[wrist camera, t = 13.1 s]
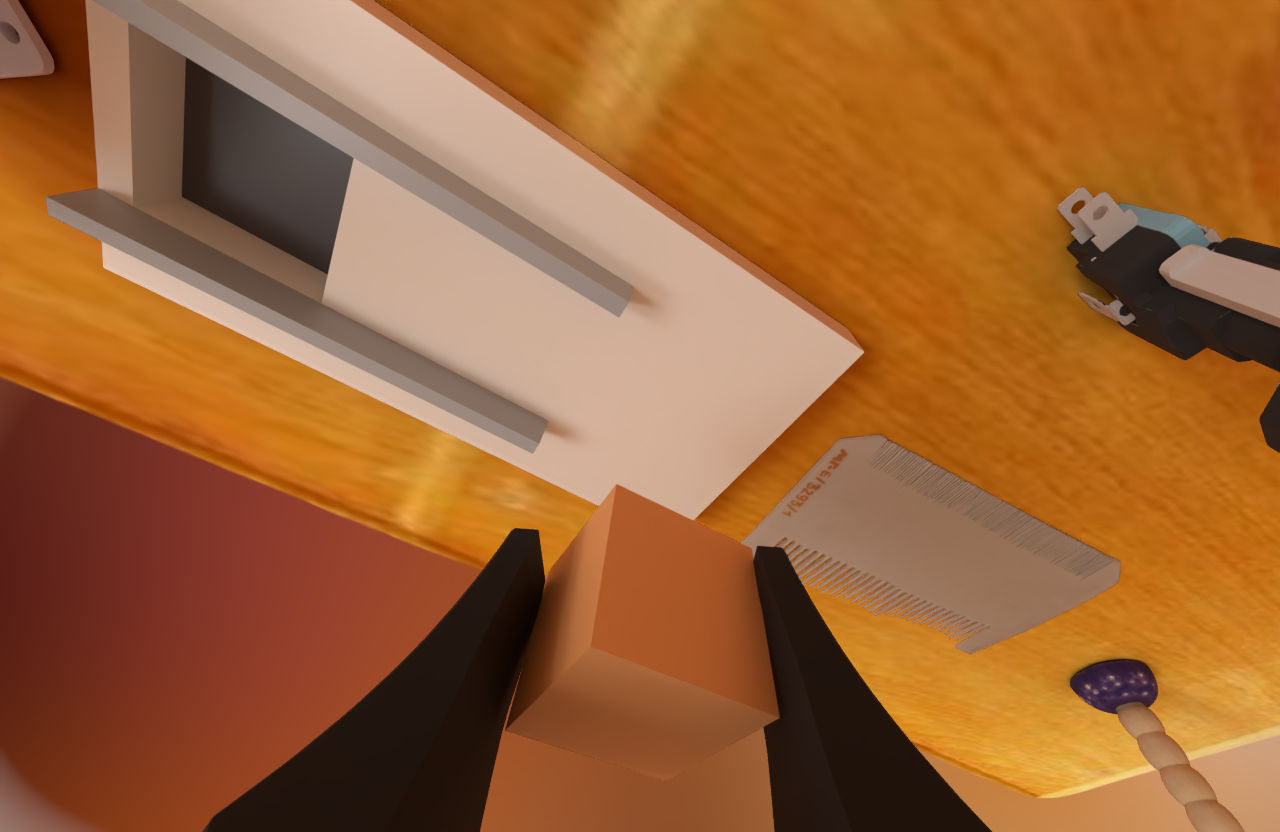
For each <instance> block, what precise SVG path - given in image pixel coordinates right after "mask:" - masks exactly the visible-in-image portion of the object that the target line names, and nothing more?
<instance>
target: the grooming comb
mask: <svg viewBox="0 0 1280 832" xmlns="http://www.w3.org/2000/svg"><path fill="white" fill-rule="evenodd" d="M785 537H786V539H785V540H784V541H783V542H782V543H780V544H779V545H778V546H777V547H782V548H784V547H786V546H787V545H788V544H789V543H790V542H791V541H793V542H792V543H791V544H790V545H789V546H788V547H787V548H786V549H785V552H786V554H788V553H790V552H791V551H792V550H793V549H795V548H796V547H797V546H798V545H800V547H799V548H797V549H796V550H795V551H794V552H792V553H791V554H790V555H789V556H788V558H789V560H790V561H791V560H792V559H793V558H795V557H796V556H797V555H799V554H800V553H801V552H802V551H804V550H805V549H806V548H807V550H806V551H805V552H804V553H802V554H801V555H800V556H799V557H798V558H797V559H795V560H794V561H793V562H792V563H791V564H792V566H793V567H795V566H796V565H797V564H799V563H800V562H801V561H803V560H804V559H805V558H806V557H808V556H809V555H810V554H812V553H813V552H814V551H816V552H815V553H814V554H813V555H812V556H810V557H809V558H808V559H807V560H805V561H804V562H803V563H802V564H801V565H800V566H799V567H797V568H796V569H795V571H796V573H797V574H798V573H799V572H800V571H802V570H803V569H804V568H806V567H807V566H808V565H810V564H811V563H812V562H813V561H815V560H816V559H817V558H818V557H820V556H821V555H822V554H823V556H822V557H821V558H820V559H819V560H818V561H816V562H815V563H813V564H812V565H811V566H810V567H809V568H808V569H806V570H805V571H804V572H803V573H802V574H800V575H799V576H798V577H799V579H801V578H802V577H803V576H805V575H806V574H808V573H809V572H811V571H812V570H814V569H815V568H817V567H818V566H819V565H821V564H822V563H823V562H825V561H826V560H828V559H829V558H831V559H830V560H828V561H827V562H826V563H825V564H824V565H822V566H821V567H820V568H819V569H817V570H816V571H815V572H814V573H812V574H811V575H810V576H809V577H807V578H806V579H805V580H804V581H803V582H802V584H805V583H806V582H808V581H809V580H811V579H812V578H814V577H815V576H817V575H818V574H820V573H821V572H823V571H824V570H826V569H827V568H828V567H830V566H831V565H833V564H835V563H836V562H837V563H836V564H835V565H834V566H832V567H831V568H830V569H829V570H827V571H826V572H825V573H824V574H822V575H821V576H820V577H819V578H817V579H816V580H815V581H814V582H812V583H811V584H810V585H809V587H812V586H813V585H815V584H816V583H818V582H819V581H821V580H823V579H824V578H826V577H827V576H829V575H830V574H832V573H833V572H834V571H836V570H837V569H838V568H840V567H841V566H843V565H844V564H846V565H845V566H844V567H842V568H841V569H840V570H839V571H837V572H836V573H835V574H833V575H832V576H831V577H829V578H828V579H827V580H826V581H824V582H823V583H822V584H820V585H819V586H818V587H817V588H816V590H817V589H819V588H821V587H823V586H824V585H826V584H828V583H829V582H831V581H832V580H834V579H835V578H837V577H838V576H840V575H841V574H843V573H844V572H846V571H847V570H848V569H850V568H852V569H851V570H850V571H849V572H847V573H846V574H845V575H843V576H842V577H841V578H839V579H838V580H837V581H835V582H834V583H832V584H831V585H830V586H828V587H827V588H826V589H824V590H823V591H822V592H821V593H824V592H826V591H827V590H829V589H831V588H832V587H834V586H835V585H837V584H838V583H840V582H841V581H843V580H844V579H846V578H847V577H849V576H850V575H852V574H853V573H855V572H857V571H858V572H857V573H856V574H855V575H853V576H852V577H851V578H849V579H848V580H847V581H845V582H844V583H843V584H841V585H840V586H839V587H837V588H836V589H835V590H833V591H832V592H831V593H830V595H832V594H833V593H835V592H837V591H838V590H840V589H842V588H843V587H845V586H847V585H848V584H850V583H852V582H853V581H855V580H856V579H858V578H859V577H861V576H862V575H864V574H865V573H867V574H866V575H864V576H863V577H862V578H860V579H859V580H858V581H856V582H855V583H854V584H852V585H851V586H850V587H848V588H847V589H846V590H844V591H843V592H841V593H840V594H839V595H837V597H836V598H838V597H839V596H841V595H843V594H845V593H846V592H848V591H850V590H851V589H853V588H855V587H856V586H858V585H859V584H861V583H862V582H864V581H865V580H867V579H868V578H870V577H872V576H873V577H872V578H871V579H870V580H868V581H867V582H865V583H864V584H862V585H861V586H860V587H858V588H857V589H855V590H854V591H852V592H851V593H850V594H848V595H847V596H846V597H844V599H848V598H849V597H851V596H853V595H855V594H856V593H858V592H860V591H861V590H863V589H865V588H866V587H868V586H870V585H871V584H873V583H874V582H876V581H877V580H879V581H877V582H876V583H875V584H873V585H872V586H871V587H869V588H868V589H866V590H865V591H864V592H862V593H861V594H860V595H858V596H857V597H856V598H854V599H853V600H852V601H851V603H853V602H855V601H857V600H858V599H860V598H862V597H863V596H865V595H867V594H868V593H870V592H872V591H873V590H875V589H877V588H878V587H880V586H881V585H883V584H884V583H886V582H887V583H886V584H885V585H883V586H882V587H880V588H879V589H878V590H876V591H875V592H873V593H872V594H870V595H869V596H868V597H866V598H865V599H863V600H862V601H861V602H859V603H858V605H860V604H861V603H863V602H865V601H867V600H869V599H870V598H872V597H874V596H875V595H877V594H879V593H880V592H882V591H884V590H885V589H887V588H888V587H890V586H891V587H890V588H889V589H887V590H886V591H885V592H883V593H882V594H880V595H879V596H878V597H876V598H875V599H873V600H872V601H870V602H869V603H868V604H866V605H865V606H864V607H863V608H867V607H869V606H871V605H872V604H874V603H876V602H877V601H879V600H881V599H882V598H884V597H886V596H887V595H889V594H891V593H892V592H894V591H895V590H897V589H898V590H897V591H896V592H894V593H893V594H891V595H890V596H888V597H887V598H886V599H884V600H883V601H881V602H880V603H878V604H877V605H875V606H874V607H873V608H871V609H870V610H869V611H867V612H869V613H870V612H872V611H874V610H876V609H878V608H879V607H881V606H882V605H884V604H886V603H887V602H889V601H891V600H892V599H894V598H896V597H897V596H899V595H900V594H902V593H903V592H905V593H904V594H902V595H901V596H899V597H897V598H896V599H895V600H893V601H892V602H891V603H889V604H887V605H886V606H885V607H883V608H882V609H881V610H879V611H878V612H877V613H875V614H874V615H875V616H877V615H878V614H880V613H882V612H884V611H885V610H887V609H889V608H890V607H892V606H894V605H895V604H897V603H898V602H900V601H901V600H903V599H905V598H906V597H908V596H910V595H911V596H910V597H908V598H907V599H905V600H904V601H902V602H901V603H899V604H898V605H896V606H895V607H893V608H892V609H890V610H889V611H887V612H886V613H885V614H888V613H890V612H892V611H894V610H896V609H898V608H900V607H902V606H903V605H905V604H907V603H909V602H910V601H912V600H914V599H916V598H918V599H916V600H914V601H913V602H911V603H910V604H908V605H907V606H905V607H904V608H902V609H901V610H899V611H898V612H896V613H895V614H893V615H892V616H891V617H893V616H896V615H897V614H899V613H901V612H903V611H905V610H907V609H909V608H911V607H913V606H915V605H917V604H919V603H920V602H922V601H923V602H922V603H920V604H919V605H917V606H915V607H914V608H912V609H911V610H910V611H908V612H906V613H905V614H903V615H902V616H900V617H899V618H903V617H905V616H907V615H909V614H911V613H913V612H915V611H917V610H919V609H920V608H922V607H924V606H926V605H927V606H926V607H924V608H923V609H921V610H920V611H918V612H916V613H915V614H913V615H912V616H910V617H909V618H907V619H906V620H907V621H908V620H910V619H912V618H914V617H916V616H918V615H920V614H922V613H924V612H926V611H928V610H930V609H932V608H933V609H932V610H930V611H929V612H927V613H925V614H924V615H922V616H921V617H919V618H917V619H916V620H914V621H913V623H915V622H917V621H919V620H921V619H923V618H925V617H927V616H930V615H931V614H933V613H935V612H937V611H939V610H940V611H939V612H937V613H936V614H934V615H932V616H931V617H929V618H928V619H926V620H925V621H923V622H921V623H920V625H921V624H924V623H926V622H928V621H930V620H933V619H935V618H937V617H939V616H941V615H943V614H945V613H946V614H945V615H943V616H941V617H940V618H938V619H937V620H935V621H933V622H932V623H930V624H929V625H927V627H929V626H932V625H934V624H936V623H938V622H940V621H942V620H944V619H946V618H949V617H950V618H949V619H947V620H945V621H943V622H942V623H940V624H939V625H937V626H935V627H934V628H933V629H936V628H938V627H940V626H942V625H945V624H947V623H949V622H951V621H953V620H955V621H953V622H952V623H950V624H948V625H947V626H945V627H944V628H942V629H940V630H939V632H941V631H943V630H945V629H947V628H950V627H952V626H954V625H956V624H959V623H961V622H963V621H965V620H967V621H965V622H963V623H961V624H960V625H958V626H956V627H954V628H953V629H951V630H950V631H948V632H946V633H945V635H947V634H950V633H952V632H954V631H956V630H958V629H961V628H963V627H965V626H967V625H969V624H971V623H972V624H971V625H969V626H967V627H965V628H963V629H962V630H960V631H958V632H956V633H955V634H953V635H952V636H950V637H949V639H951V638H953V637H955V636H957V635H960V634H962V633H964V632H966V631H969V630H971V629H973V628H974V629H973V630H971V631H969V632H967V633H966V634H964V635H962V636H960V637H959V638H958V639H957V640H959V639H961V638H963V637H965V636H968V635H970V634H972V633H974V632H976V631H979V630H981V629H983V628H985V627H986V628H985V629H983V630H981V631H979V632H978V633H976V634H974V635H972V636H970V637H968V638H967V639H965V640H963V641H962V642H960V643H958V644H957V645H955V647H956V649H959V650H961V651H964V652H966V653H969V654H973V653H975V652H976V651H979V650H982V649H984V648H986V647H988V646H991V645H993V644H996V643H998V642H1000V641H1003V640H1005V639H1008V638H1010V637H1013V636H1015V635H1018V634H1020V633H1023V632H1025V631H1027V630H1029V629H1032V628H1034V627H1036V626H1038V625H1040V624H1042V623H1044V622H1046V621H1048V620H1050V619H1052V618H1054V617H1056V616H1058V615H1060V614H1062V613H1064V612H1066V611H1068V610H1070V609H1072V608H1074V607H1076V606H1078V605H1080V604H1082V603H1084V602H1086V601H1088V600H1090V599H1092V598H1093V597H1095V596H1097V595H1099V594H1101V593H1102V592H1104V591H1106V590H1108V589H1109V588H1111V587H1112V586H1114V585H1115V584H1116V583H1118V581H1119V577H1120V564H1121V563H1120V561H1119V560H1117V559H1115V558H1111V557H1110V556H1108V555H1106V554H1104V553H1101V551H1100V552H1099V550H1097V549H1095V548H1093V547H1091V546H1089V545H1087V544H1085V543H1083V542H1081V541H1078V539H1075V538H1074V537H1073V538H1072V536H1069V535H1067V534H1066V533H1065V534H1064V532H1061V531H1059V530H1056V529H1055V528H1053V527H1051V526H1050V525H1047V523H1046V524H1045V523H1044V522H1042V521H1040V520H1038V519H1037V518H1034V517H1033V516H1030V515H1029V514H1026V513H1025V512H1024V511H1022V510H1021V511H1020V509H1017V508H1016V507H1014V506H1012V505H1010V504H1008V503H1007V502H1006V501H1005V502H1004V501H1002V500H1000V499H999V498H998V497H995V496H994V495H992V494H990V493H987V492H986V491H984V490H982V489H981V488H978V487H977V486H975V485H972V484H971V483H969V482H967V481H964V480H962V478H959V477H958V476H957V475H954V474H952V473H950V472H948V471H945V469H942V468H941V467H939V466H937V465H934V464H932V462H929V461H927V460H926V459H925V458H922V457H920V456H918V455H916V454H915V453H913V452H910V451H909V450H906V449H904V448H903V447H901V446H899V445H897V444H896V443H893V442H891V440H890V441H888V440H887V438H886V437H884V436H882V435H870V436H861V437H851V438H842V439H839V440H837V441H836V442H835V443H834V445H833V446H832V447H831V448H830V449H829V450H828V451H827V452H826V453H825V454H824V455H823V456H822V457H821V458H820V459H819V460H818V461H817V462H816V464H815V465H814V466H813V467H812V468H811V469H810V470H809V471H808V472H807V473H806V474H805V475H804V476H803V477H802V479H801V480H800V481H799V482H798V483H797V484H796V485H795V486H794V487H793V488H792V489H791V490H790V491H789V493H788V494H787V495H786V496H785V497H784V498H783V499H782V500H781V501H780V502H779V503H778V504H777V506H776V507H775V508H774V509H773V510H772V511H771V512H770V513H769V514H768V515H767V516H766V517H765V518H764V519H763V520H762V521H761V522H760V524H759V525H758V526H757V527H756V528H755V529H754V530H753V531H752V532H751V533H750V534H749V535H748V536H747V537H746V538H745V539H744V540H743V541H742V542H741V544H743V545H746V546H748V547H750V548H752V552H753V558H754V556H755V552H756V548H757V546H769V547H774V546H775V545H776V544H777V543H779V542H780V541H781V540H782V539H783V538H785ZM838 561H839V562H838ZM892 585H893V586H892ZM928 604H929V605H928ZM858 605H857V606H858ZM934 607H935V608H934ZM947 612H948V613H947ZM955 614H956V615H955ZM953 615H954V616H953ZM951 616H952V617H951ZM956 619H957V620H956ZM973 622H974V623H973ZM987 626H988V627H987ZM957 640H956V641H957Z"/></svg>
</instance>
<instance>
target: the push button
mask: <svg viewBox="0 0 1280 832" xmlns="http://www.w3.org/2000/svg"><path fill="white" fill-rule="evenodd" d="M1080 200H1083V201H1084V202H1085V206H1084V207H1083V208H1082V209H1081V210H1079V211H1078V213H1076V214H1073V213H1072V212H1071V209H1072V206H1073V205H1074V204H1075V203H1076V202H1078V201H1080ZM1101 206H1102V207H1101ZM1057 210H1058V211H1059V212H1060V213H1061V214H1062V215H1063V217H1064V218H1065V219H1066V220H1067V221H1068V222H1069V223H1070V224H1071V225H1072V226H1073V227H1074V228H1075V229H1074V230H1073V231H1072V232H1071V234H1072V235H1073V236H1074V237H1075V239H1076V240H1075V241H1073V242H1072V243H1071V244H1070V245H1069V246H1067V250H1068V251H1069V252H1070V253H1071V254H1072V255H1073V256H1074V257H1075V258H1076V259H1077V260H1078V261H1079V263H1078V264H1077V265H1076V267H1077V268H1078V269H1079V270H1080V271H1081V272H1082V273H1083V274H1084V275H1085V276H1086V277H1088V278H1089V279H1091V280H1092V281H1094V282H1095V283H1097V284H1098V285H1100V286H1102V287H1103V288H1104V289H1105V290H1106V291H1107V292H1108V293H1109V294H1110V295H1111V296H1112V297H1113V298H1114V299H1115V301H1113V302H1112V303H1110V304H1107V305H1105V304H1104V303H1103V302H1102V301H1100V300H1097V299H1095V298H1093V297H1091V296H1089V295H1087V294H1085V293H1083V292H1080V293H1079V294H1078V295H1079V296H1080V297H1081V298H1082V299H1083V300H1084V301H1085V302H1086V303H1087V304H1088V305H1089V306H1090V307H1092V308H1093V309H1094V310H1096V311H1097V312H1099V313H1101V314H1103V315H1105V316H1107V317H1109V318H1111V319H1113V320H1115V321H1117V322H1118V323H1119V324H1120V325H1121V326H1122V327H1123V328H1125V329H1126V330H1127V331H1129V332H1131V333H1133V334H1135V335H1136V336H1138V337H1140V338H1142V339H1144V340H1146V341H1148V342H1150V343H1152V344H1154V345H1156V346H1158V347H1160V348H1161V349H1163V350H1165V351H1167V352H1169V353H1171V354H1173V355H1175V356H1177V357H1179V358H1181V359H1183V360H1187V359H1189V358H1191V357H1192V356H1194V355H1195V354H1197V353H1199V352H1200V351H1202V350H1203V349H1205V348H1210V349H1212V350H1214V351H1216V352H1218V353H1220V354H1222V355H1224V356H1226V357H1229V358H1231V359H1233V360H1235V361H1237V362H1243V361H1251V360H1254V361H1256V362H1258V363H1261V364H1263V365H1265V366H1267V367H1269V368H1272V369H1274V370H1276V371H1278V372H1280V248H1278V247H1274V246H1270V245H1266V244H1262V243H1258V242H1254V241H1249V240H1245V239H1241V238H1233V236H1231V237H1229V238H1227V239H1226V240H1224V241H1223V240H1222V239H1221V238H1220V236H1219V235H1218V234H1217V233H1216V231H1215V230H1214V229H1213V228H1211V229H1209V230H1208V229H1207V228H1206V227H1205V226H1201V225H1197V224H1196V223H1195V222H1194V221H1192V220H1190V219H1189V218H1187V217H1184V216H1182V215H1177V214H1173V213H1170V214H1167V213H1163V212H1159V211H1155V210H1151V209H1146V208H1142V207H1138V206H1134V205H1130V204H1125V203H1120V204H1119V205H1117V204H1116V203H1115V201H1114V200H1113V199H1112V198H1111V197H1110V196H1109V194H1108V193H1107V192H1102V193H1099V194H1098V195H1097V196H1096V197H1095V198H1093V197H1092V196H1091V194H1090V193H1089V192H1088V191H1087V190H1086V189H1085V188H1084V187H1080V188H1078V189H1076V190H1075V191H1074V192H1073V193H1072V194H1071V195H1070V196H1068V197H1067V198H1066V199H1065V200H1064V201H1063V202H1062V203H1060V204H1059V205H1058V208H1057ZM1260 424H1261V427H1262V430H1263V433H1264V437H1265V440H1266V443H1267V445H1268V446H1269V447H1271V448H1272V449H1274V450H1276V451H1277V452H1279V453H1280V381H1279V382H1278V384H1277V385H1276V391H1275V392H1274V394H1273V396H1272V397H1271V399H1270V401H1269V403H1268V404H1267V406H1266V408H1265V409H1264V411H1263V413H1262V414H1261V416H1260Z"/></svg>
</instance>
